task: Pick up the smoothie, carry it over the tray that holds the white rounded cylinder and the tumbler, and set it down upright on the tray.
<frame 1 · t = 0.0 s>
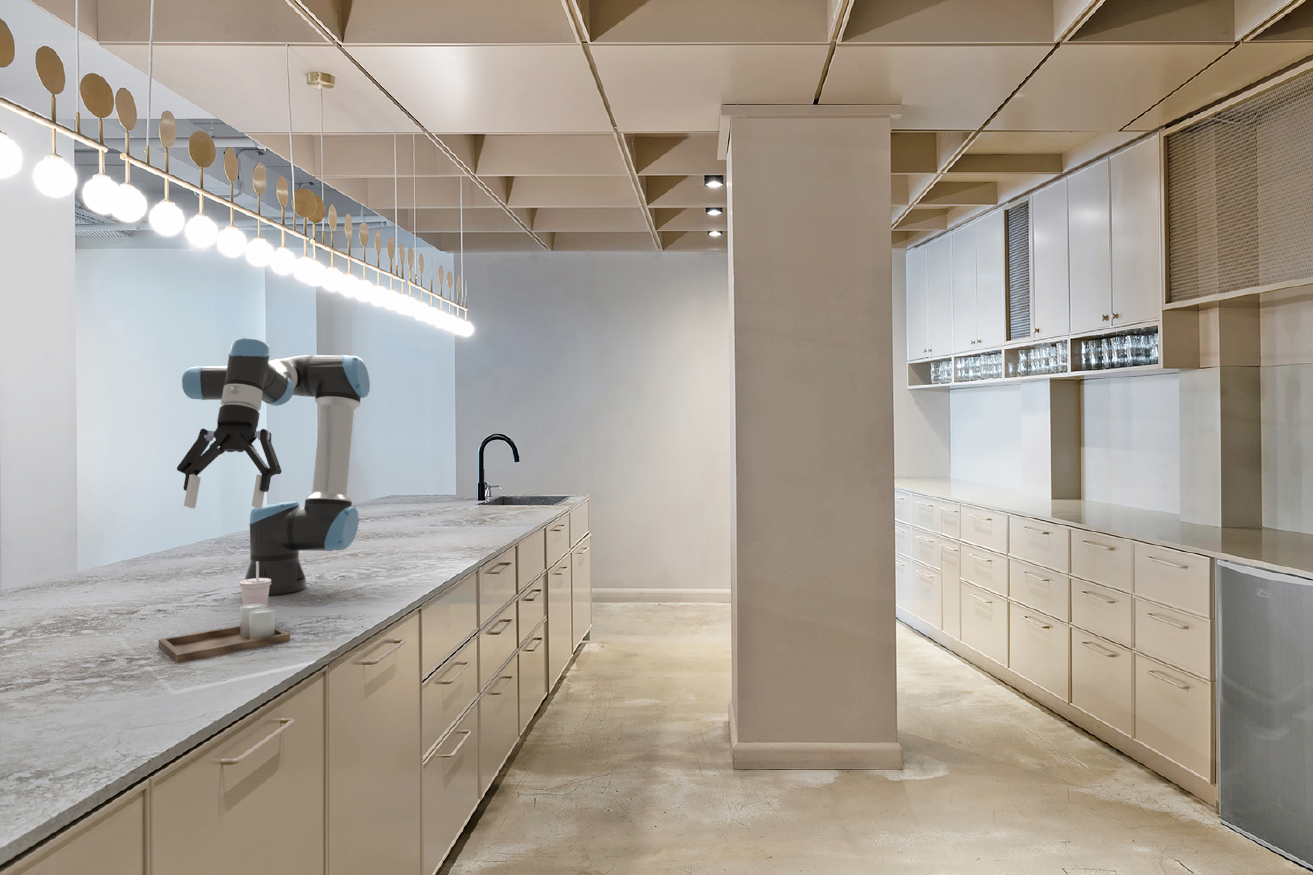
hand: (223, 507, 155), 28 cm above the worktop, tool tilted 20°, fingers open, 13 cm apart
white rounded cylinder a: (252, 634, 159), point 1 cm above the worktop, touching tray
smoothie: (255, 624, 170), on the worktop
tray: (225, 646, 153), on the worktop
tumbler b: (262, 640, 155), point 1 cm above the worktop, touching tray
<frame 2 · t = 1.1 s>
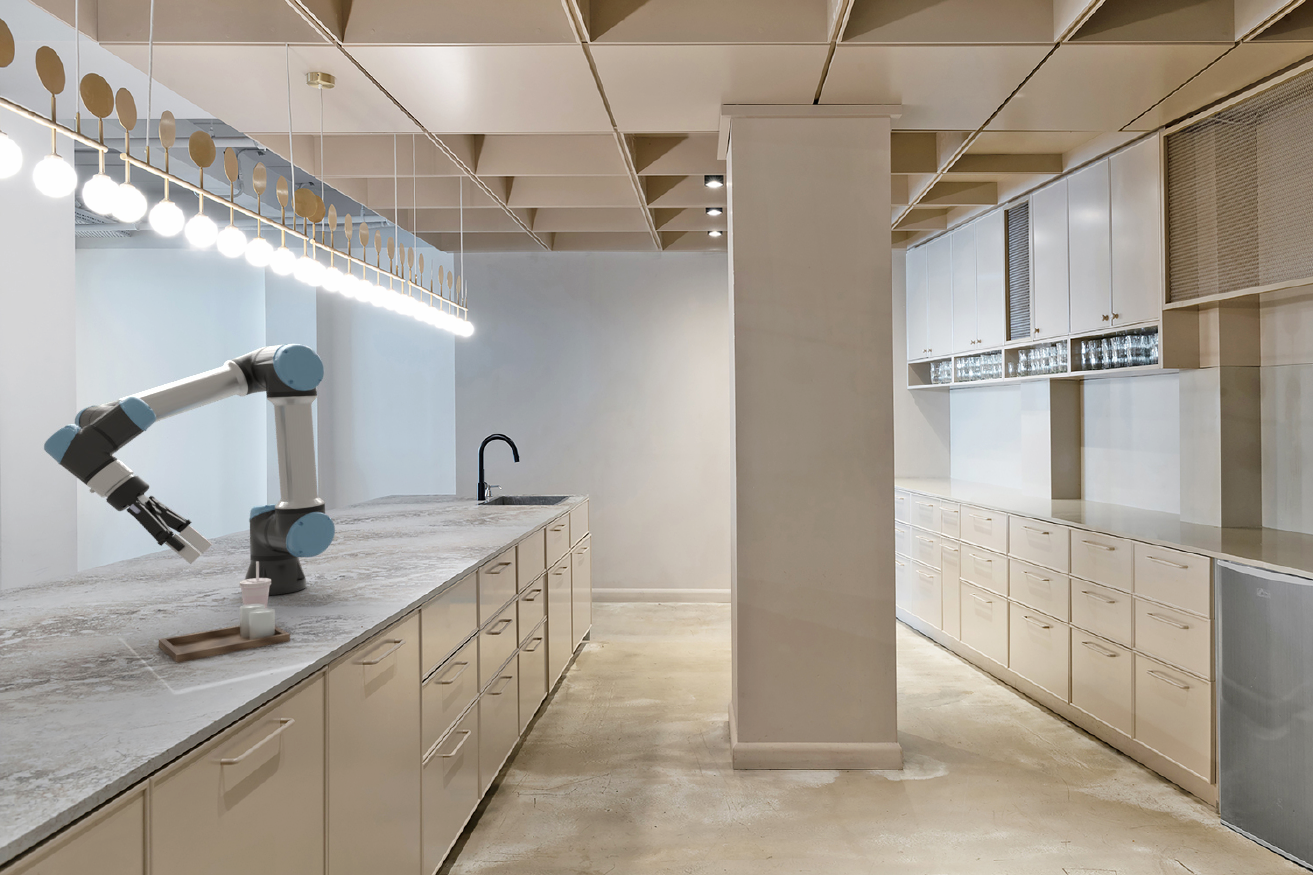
hand: (202, 553, 166), 16 cm above the worktop, tool tilted 45°, fingers open, 13 cm apart
nothing on the worktop moved.
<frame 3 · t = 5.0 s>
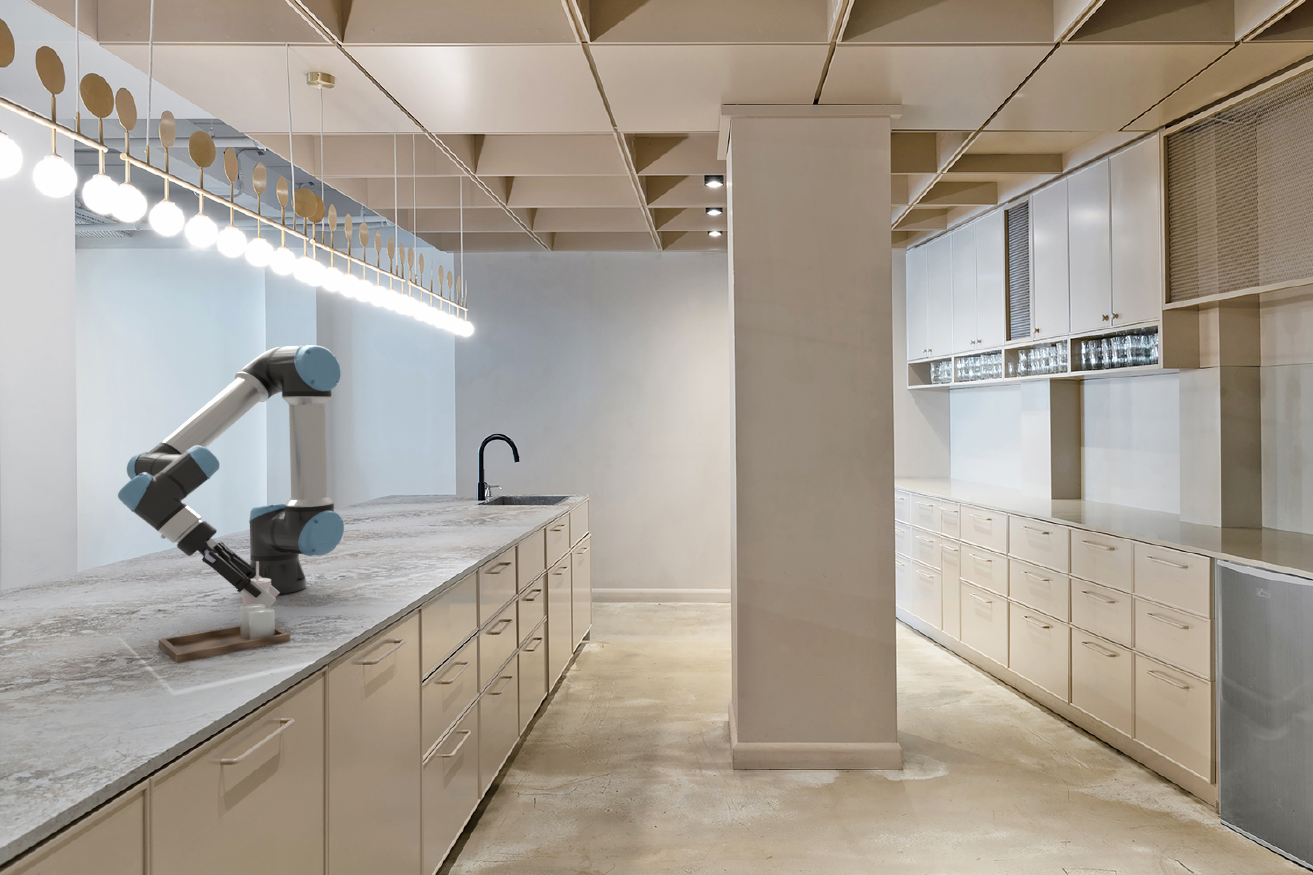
hand: (273, 600, 171), 5 cm above the worktop, tool tilted 45°, fingers closed on smoothie, 6 cm apart
smoothie: (255, 624, 170), on the worktop, touching gripper
everything else where it was.
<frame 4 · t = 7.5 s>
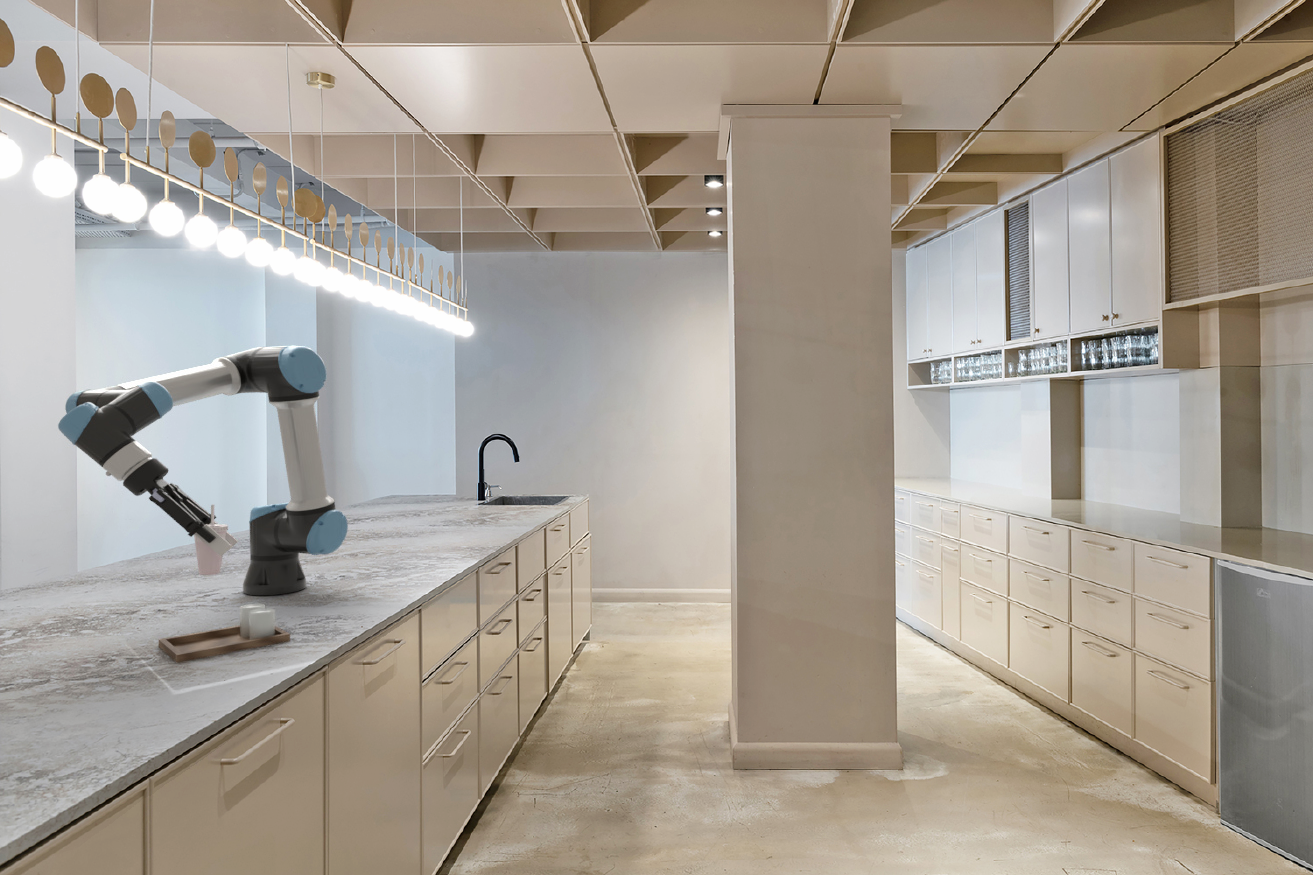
hand: (229, 548, 156), 19 cm above the worktop, tool tilted 45°, fingers closed on smoothie, 6 cm apart
smoothie: (209, 574, 155), point 14 cm above the worktop, touching gripper
everything else where it was.
when the fingers open (7 cm above the worktop, at t = 10.3 s): smoothie drops 1 cm, resting on tray.
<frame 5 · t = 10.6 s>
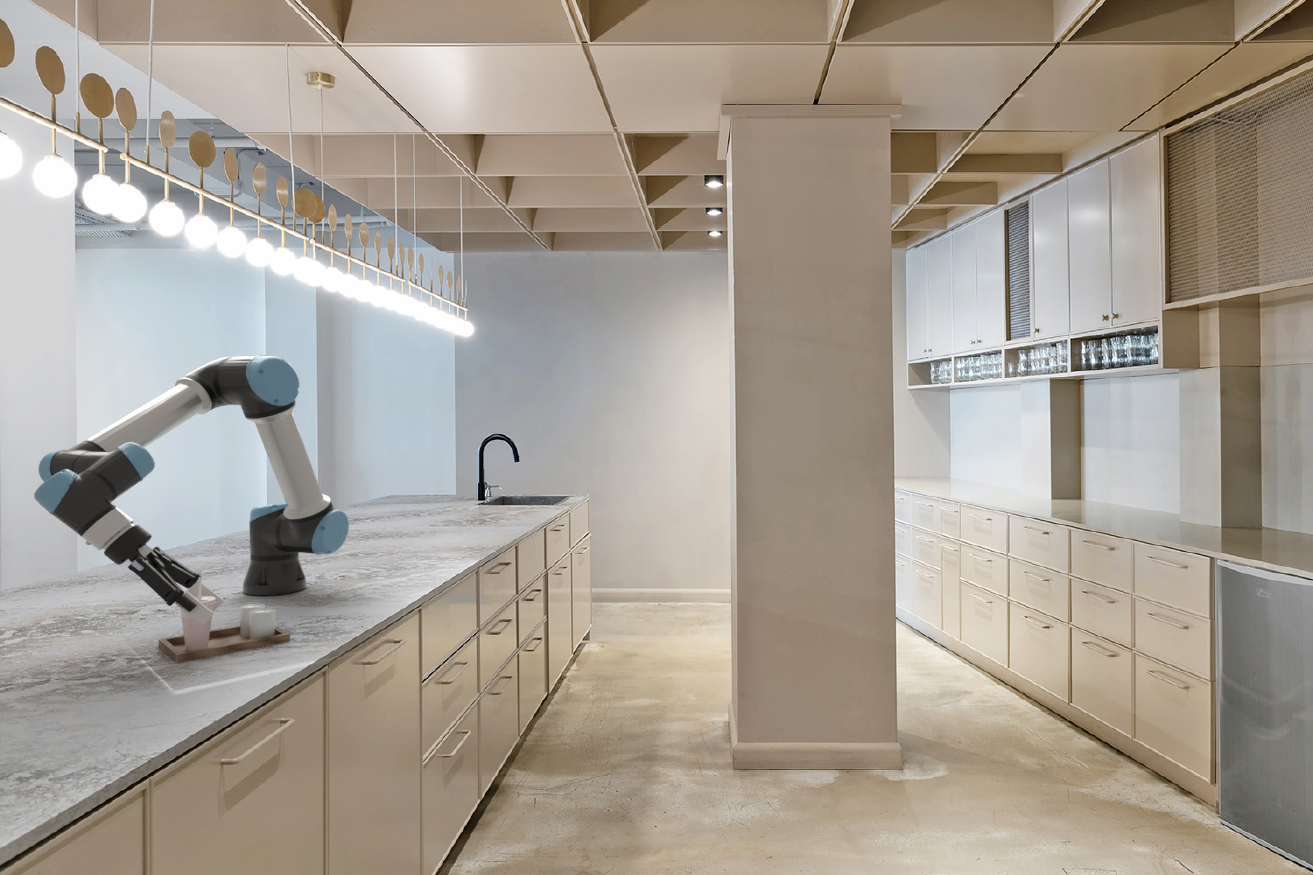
hand: (214, 612, 150), 8 cm above the worktop, tool tilted 45°, fingers open, 10 cm apart
smoothie: (196, 649, 149), resting on tray
everything else where it was.
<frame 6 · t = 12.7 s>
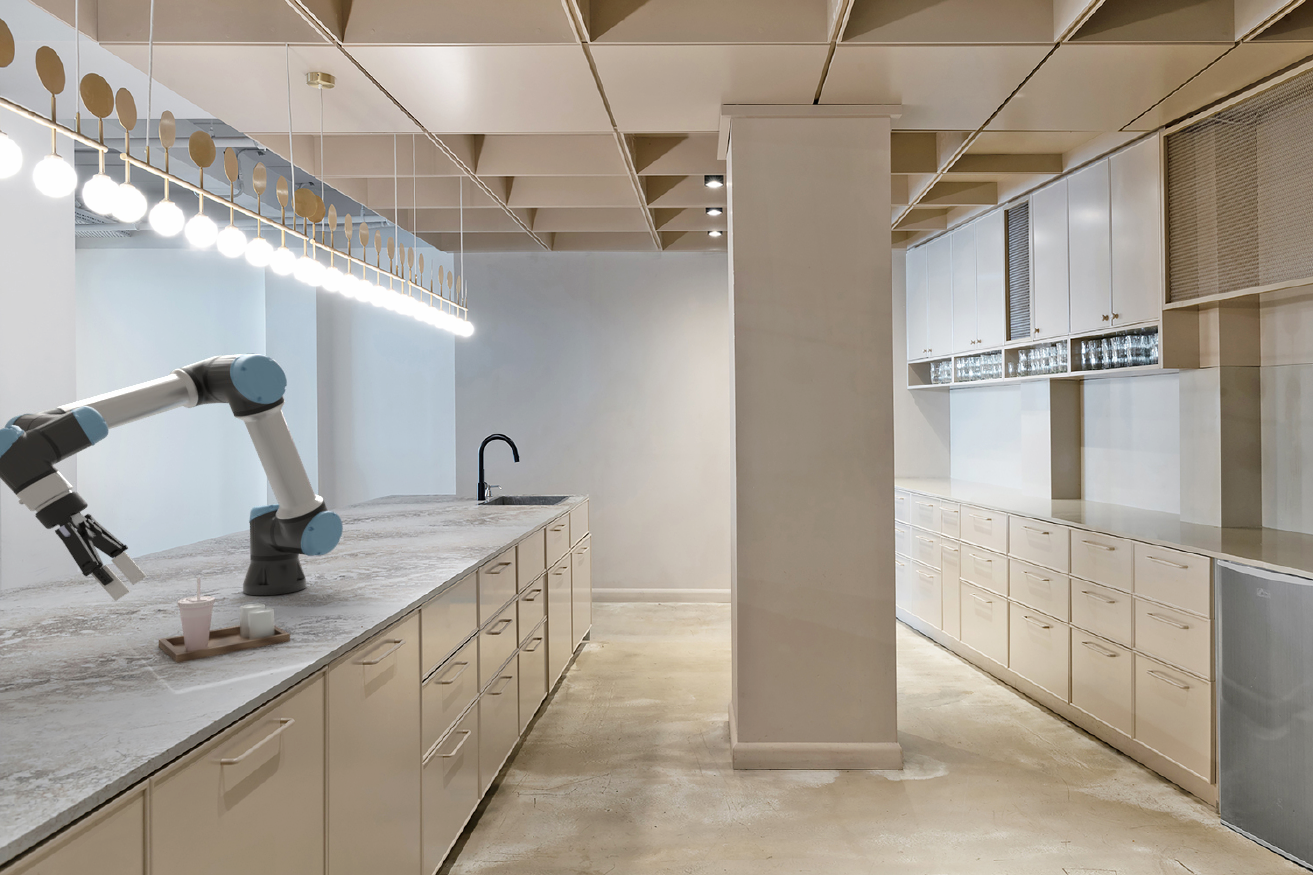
hand: (132, 588, 149), 13 cm above the worktop, tool tilted 35°, fingers open, 13 cm apart
nothing on the worktop moved.
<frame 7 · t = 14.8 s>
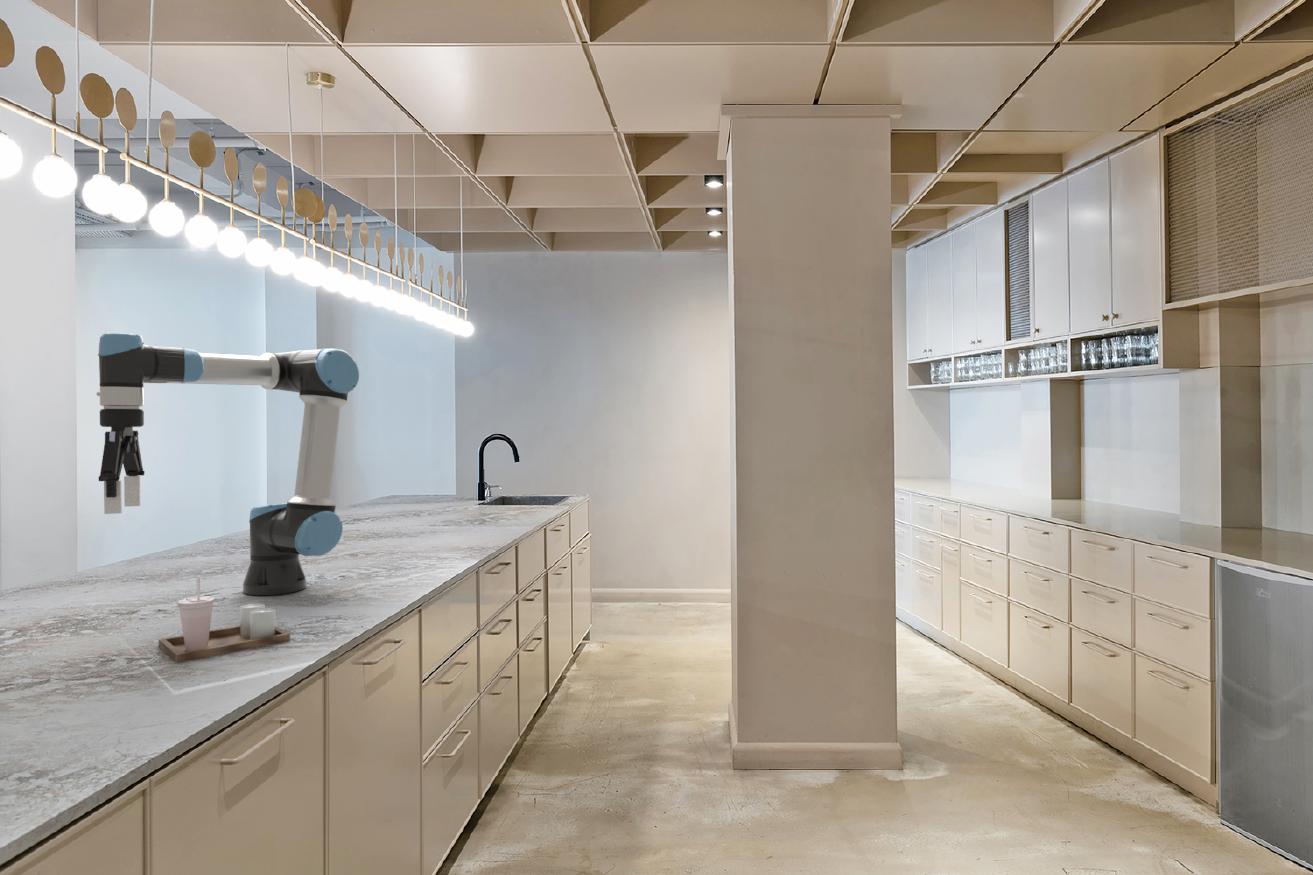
hand: (123, 509, 159), 27 cm above the worktop, tool pointing down, fingers open, 13 cm apart
nothing on the worktop moved.
at the end: smoothie inside the target area on the tray (5.0 cm from its centre), point 0.4 cm above the tray's base; smoothie tilted 0°; the gripper is holding nothing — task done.
